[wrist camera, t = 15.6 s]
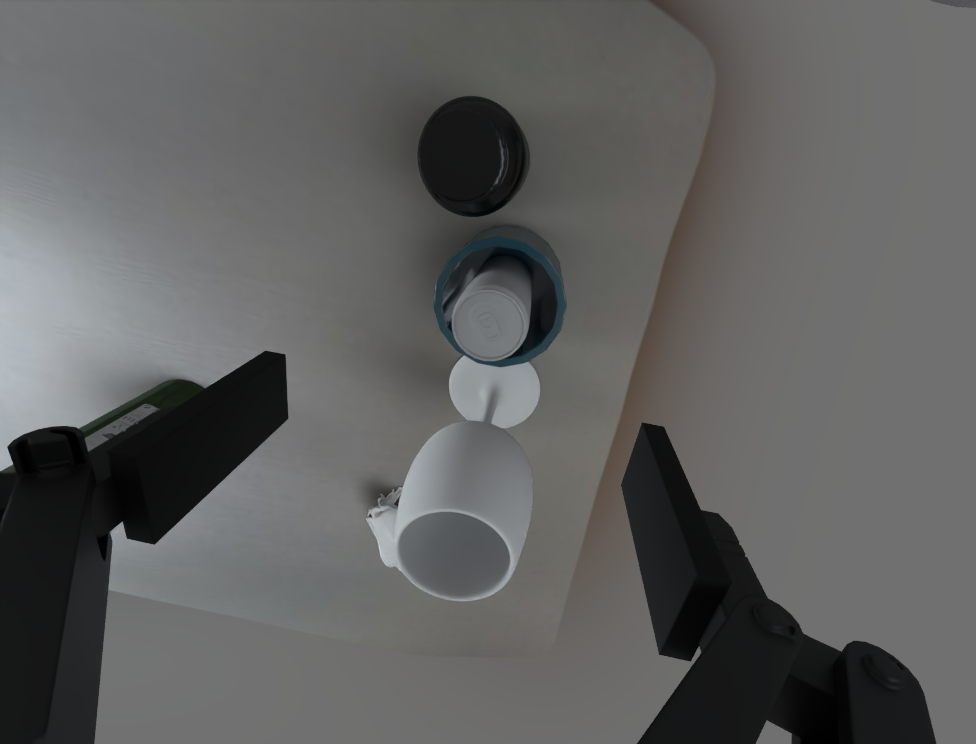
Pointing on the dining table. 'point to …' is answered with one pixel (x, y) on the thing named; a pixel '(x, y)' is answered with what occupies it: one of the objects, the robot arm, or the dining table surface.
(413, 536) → the wineglass
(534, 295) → the cup
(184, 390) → the wine bottle
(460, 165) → the supplement bottle
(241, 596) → the dining table surface
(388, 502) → the white oblong lump
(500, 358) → the beverage can
